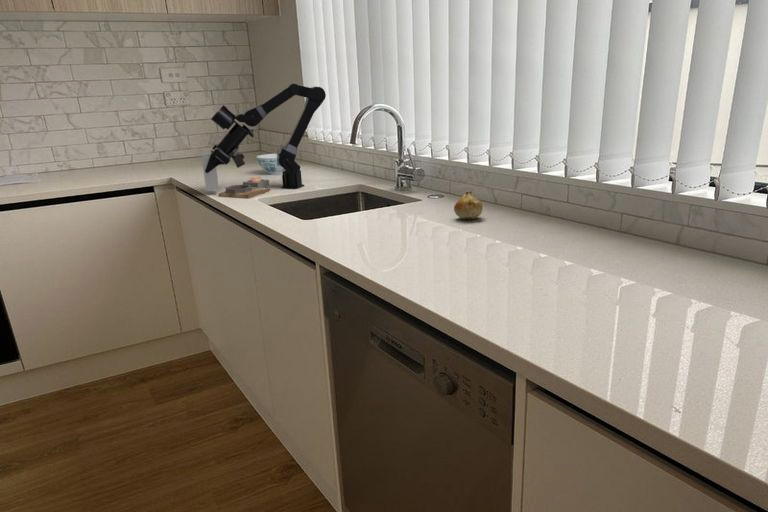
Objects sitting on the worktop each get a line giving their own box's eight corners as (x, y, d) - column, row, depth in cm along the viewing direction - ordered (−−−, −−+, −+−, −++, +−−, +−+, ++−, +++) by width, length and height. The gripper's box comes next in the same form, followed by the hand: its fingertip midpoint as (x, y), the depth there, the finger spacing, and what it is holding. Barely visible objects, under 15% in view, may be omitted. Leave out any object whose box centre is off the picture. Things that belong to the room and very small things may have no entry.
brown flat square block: (270, 191, 210) (269, 184, 209) (248, 198, 199) (247, 190, 198) (242, 189, 216) (241, 182, 215) (219, 196, 204) (218, 188, 204)
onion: (448, 218, 162) (448, 190, 160) (472, 214, 165) (473, 187, 163) (462, 223, 155) (462, 194, 153) (487, 220, 158) (488, 191, 156)
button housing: (269, 186, 221) (268, 179, 220) (258, 189, 215) (257, 182, 214) (254, 185, 224) (254, 179, 223) (243, 188, 218) (242, 182, 217)
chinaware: (276, 169, 261) (274, 152, 259) (299, 171, 253) (298, 154, 251) (251, 174, 250) (249, 157, 248) (275, 177, 241) (273, 158, 239)
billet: (218, 187, 212) (214, 152, 208) (218, 189, 208) (214, 153, 204) (206, 188, 211) (201, 153, 207) (206, 190, 207) (201, 154, 203)
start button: (263, 183, 220) (263, 177, 219) (257, 185, 216) (256, 179, 216) (255, 183, 222) (254, 177, 221) (248, 185, 218) (248, 178, 217)
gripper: (253, 156, 201) (224, 190, 201) (250, 150, 218) (223, 181, 219) (227, 134, 197) (198, 169, 197) (226, 130, 214) (199, 162, 214)
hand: (206, 171), depth 207 cm, fingers closed on billet, 4 cm apart
